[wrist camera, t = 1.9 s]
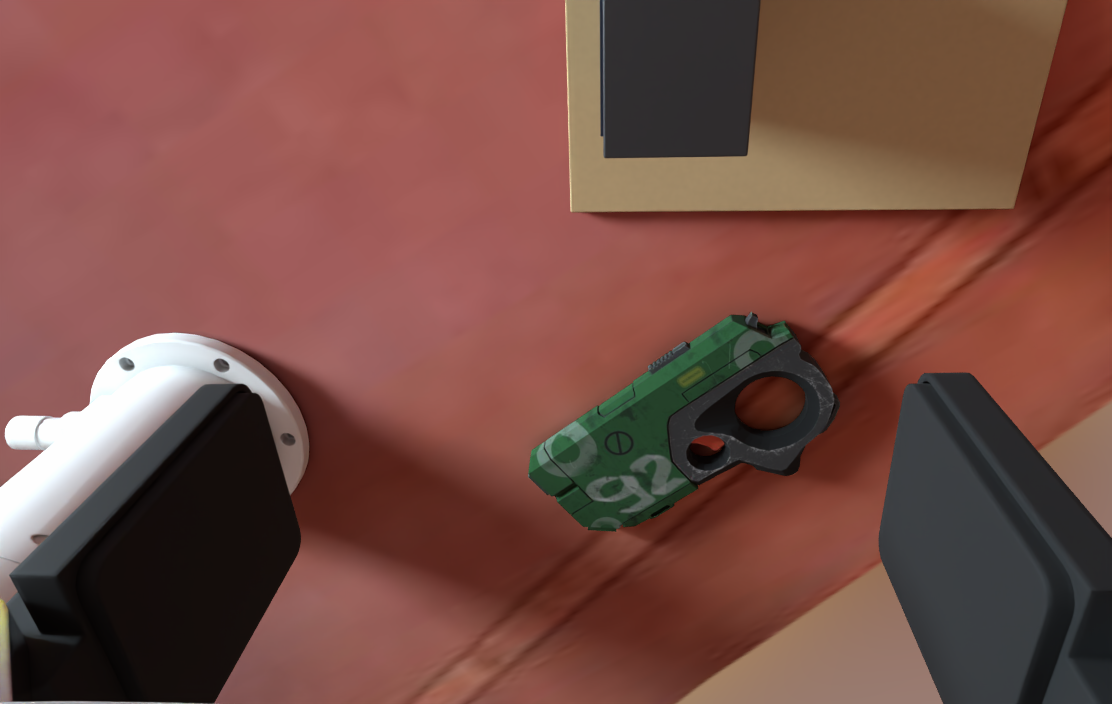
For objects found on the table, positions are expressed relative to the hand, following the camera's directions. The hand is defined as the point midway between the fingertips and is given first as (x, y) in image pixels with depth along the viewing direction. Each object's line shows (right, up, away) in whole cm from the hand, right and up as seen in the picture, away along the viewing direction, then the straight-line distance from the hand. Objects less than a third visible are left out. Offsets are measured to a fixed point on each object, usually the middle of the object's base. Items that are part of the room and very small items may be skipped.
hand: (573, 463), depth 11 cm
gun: (+7, -3, +30) cm, 31 cm away
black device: (+4, +16, +20) cm, 26 cm away
